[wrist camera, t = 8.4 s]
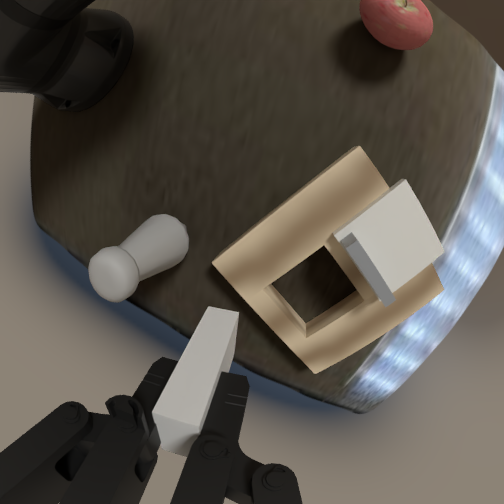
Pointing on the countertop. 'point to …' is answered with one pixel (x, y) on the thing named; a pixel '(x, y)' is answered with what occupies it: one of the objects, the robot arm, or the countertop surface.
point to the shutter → (390, 240)
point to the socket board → (306, 243)
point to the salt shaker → (138, 257)
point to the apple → (397, 22)
